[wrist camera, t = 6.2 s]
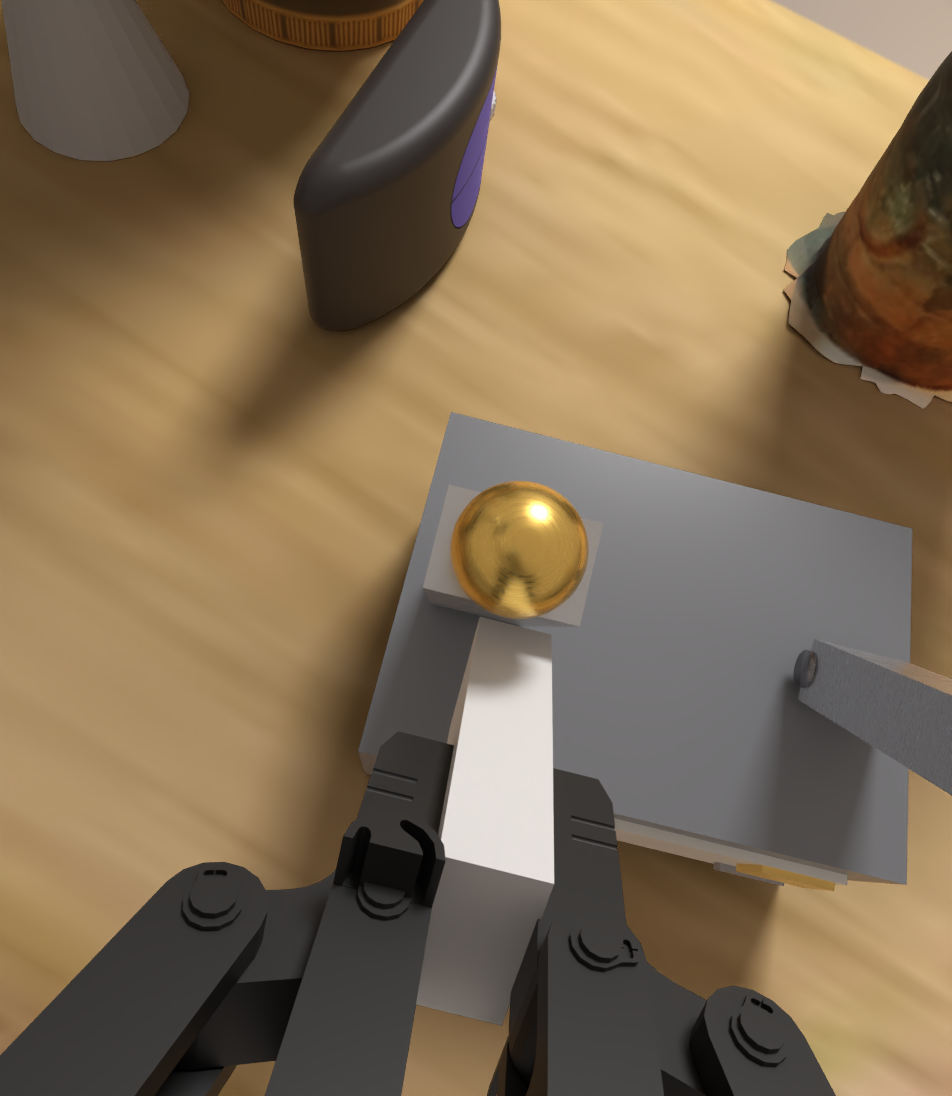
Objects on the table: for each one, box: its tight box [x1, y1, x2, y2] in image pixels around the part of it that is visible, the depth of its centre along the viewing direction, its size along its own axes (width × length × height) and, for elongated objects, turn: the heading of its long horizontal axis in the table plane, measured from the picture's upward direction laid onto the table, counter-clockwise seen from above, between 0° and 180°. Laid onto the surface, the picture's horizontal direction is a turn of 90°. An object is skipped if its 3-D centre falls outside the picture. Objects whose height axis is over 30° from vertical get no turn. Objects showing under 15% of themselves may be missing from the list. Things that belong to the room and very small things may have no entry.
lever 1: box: [423, 481, 603, 627], centre depth 19 cm, size 3×2×13 cm
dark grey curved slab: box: [294, 0, 501, 331], centre depth 36 cm, size 16×5×9 cm, turn 157°
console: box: [358, 412, 912, 891], centre depth 29 cm, size 17×12×8 cm
